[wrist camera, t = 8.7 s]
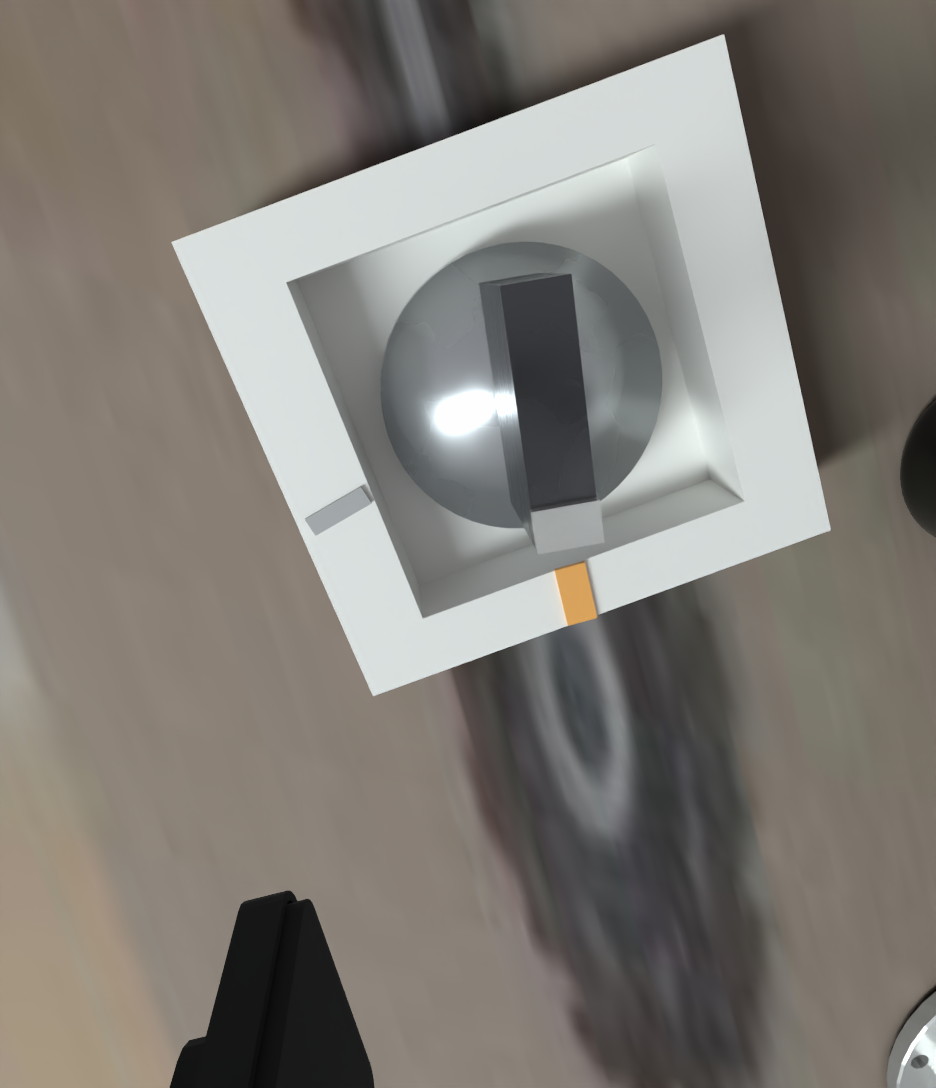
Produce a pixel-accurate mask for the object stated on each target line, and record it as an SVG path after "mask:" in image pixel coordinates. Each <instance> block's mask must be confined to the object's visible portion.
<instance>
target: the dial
mask: <svg viewBox="0 0 936 1088" xmlns="http://www.w3.org/2000/svg"><path fill="white" fill-rule="evenodd" d="M661 395H662V365H661V358H660V352H659V347H658V344H657V340H656V337H655V333H654V331H653V328H652V326H651V324H650V321H649V319H648V317H647V315H646V313H645V311H644V310H643V308H642V306H641V305H640V303H639V301H638V300H637V298H636V297H635V296H634V295H633V293H632V292H631V291H630V290H629V288H628V287H627V286H626V285H625V284H624V283H623V282H622V281H621V280H620V279H619V278H618V277H617V276H616V275H615V274H614V273H612V272H611V271H610V270H608V269H607V268H606V267H604V266H603V265H601V264H600V263H598V262H597V261H595V260H594V259H592V258H590V257H588V256H586V255H584V254H582V253H580V252H577V251H574V250H571V249H568V248H565V247H562V246H558V245H553V244H548V243H543V242H512V243H503V244H498V245H494V246H490V247H486V248H481V249H478V250H475V251H473V252H470V253H468V254H465V255H463V256H461V257H459V258H457V259H455V260H453V261H452V262H450V263H448V264H446V265H445V266H443V267H442V268H441V269H439V270H438V271H437V272H435V273H434V274H433V275H431V276H430V277H429V278H428V279H427V280H426V281H425V282H424V283H423V284H422V285H421V286H420V287H419V288H418V289H417V290H416V291H415V292H414V294H413V295H412V296H411V298H410V299H409V300H408V301H407V303H406V304H405V306H404V307H403V309H402V311H401V312H400V314H399V316H398V318H397V319H396V321H395V323H394V326H393V328H392V331H391V333H390V335H389V338H388V341H387V345H386V349H385V352H384V356H383V363H382V370H381V405H382V413H383V419H384V423H385V427H386V431H387V434H388V437H389V440H390V442H391V445H392V447H393V449H394V452H395V454H396V455H397V457H398V459H399V461H400V462H401V464H402V466H403V468H404V469H405V470H406V472H407V473H408V474H409V476H410V477H411V478H412V480H413V481H414V482H415V483H416V484H417V485H418V486H419V487H420V488H421V489H422V490H423V491H424V492H425V493H426V494H427V495H428V496H429V497H430V498H432V499H433V500H434V501H436V502H437V503H438V504H439V505H441V506H442V507H444V508H446V509H448V510H449V511H451V512H453V513H454V514H456V515H459V516H461V517H463V518H466V519H468V520H470V521H473V522H477V523H480V524H484V525H488V526H494V527H501V528H525V530H526V532H527V534H528V536H529V537H530V539H531V541H532V543H533V545H534V547H535V549H536V552H537V554H544V553H549V552H555V551H560V550H566V549H571V548H577V547H582V546H588V545H593V544H599V543H604V533H603V524H602V514H601V505H600V501H601V500H603V499H604V498H606V497H607V496H608V495H609V494H610V493H611V492H612V491H613V490H614V489H616V488H617V487H618V486H619V485H620V484H621V483H622V481H623V480H624V479H625V478H626V477H627V476H628V475H629V474H630V472H631V471H632V470H633V468H634V467H635V465H636V464H637V462H638V461H639V459H640V458H641V456H642V454H643V452H644V451H645V449H646V447H647V445H648V443H649V441H650V438H651V436H652V433H653V430H654V428H655V425H656V421H657V417H658V413H659V409H660V404H661Z"/></svg>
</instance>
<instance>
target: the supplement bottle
mask: <svg viewBox="0 0 936 1088" xmlns="http://www.w3.org/2000/svg"><path fill="white" fill-rule="evenodd" d="M900 480H901V488H902V494H903V497H904V500H905V503H906V505H907V508H908V509H909V511H910V513H911V515H912V516H913V517H914V519H915V520H916V521H917V523H918V524H919V525H920V526H921V527H922V528H923V529H925V530H926V531H927V532H928V533H930V534H931V535H933V536H934V537H936V400H935V401H934V402H933V403H932V404H931V405H930V406H929V407H928V408H927V409H926V410H925V411H924V413H923V414H922V415H921V417H920V418H919V419H918V421H917V422H916V424H915V426H914V427H913V429H912V431H911V433H910V435H909V437H908V440H907V442H906V445H905V448H904V451H903V456H902V460H901V468H900Z"/></svg>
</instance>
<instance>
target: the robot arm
mask: <svg viewBox="0 0 936 1088" xmlns="http://www.w3.org/2000/svg"><path fill="white" fill-rule="evenodd" d="M887 1085H888V1088H936V991H935V992H934V993H933V994H932V995H931V996H929V997H928V998H927V999H926V1000H925V1001H924V1002H923V1003H922V1004H921V1005H920V1006H919V1007H918V1008H917V1010H916V1011H915V1012H914V1013H913V1014H912V1015H911V1017H910V1018H909V1019H908V1020H907V1022H906V1023H905V1025H904V1027H903V1028H902V1030H901V1032H900V1033H899V1035H898V1037H897V1038H896V1041H895V1044H894V1046H893V1049H892V1052H891V1054H890V1057H889V1062H888V1069H887ZM170 1088H374V1080H373V1074H372V1069H371V1066H370V1062H369V1059H368V1056H367V1054H366V1051H365V1048H364V1045H363V1042H362V1040H361V1037H360V1034H359V1031H358V1028H357V1026H356V1023H355V1020H354V1017H353V1014H352V1012H351V1009H350V1006H349V1003H348V1000H347V998H346V995H345V992H344V989H343V986H342V984H341V981H340V978H339V975H338V972H337V970H336V967H335V964H334V961H333V958H332V956H331V953H330V950H329V947H328V944H327V942H326V939H325V936H324V933H323V930H322V928H321V925H320V922H319V919H318V916H317V914H316V911H315V908H314V906H313V904H312V902H311V901H310V900H309V899H305V900H301V901H297V900H296V897H295V895H294V894H293V893H292V892H291V891H284V892H280V893H276V894H272V895H268V896H264V897H260V898H256V899H252V900H248V901H244V902H243V903H242V904H241V906H240V908H239V911H238V915H237V919H236V923H235V926H234V930H233V934H232V938H231V942H230V946H229V950H228V954H227V957H226V961H225V965H224V969H223V973H222V977H221V981H220V985H219V988H218V992H217V996H216V1000H215V1004H214V1008H213V1012H212V1015H211V1019H210V1023H209V1027H208V1031H207V1035H206V1036H205V1037H201V1038H197V1039H193V1040H189V1041H188V1043H187V1044H186V1045H185V1046H184V1047H183V1049H182V1051H181V1054H180V1056H179V1059H178V1061H177V1064H176V1068H175V1071H174V1075H173V1078H172V1082H171V1085H170Z"/></svg>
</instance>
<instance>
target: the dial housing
mask: <svg viewBox="0 0 936 1088" xmlns="http://www.w3.org/2000/svg"><path fill="white" fill-rule="evenodd" d="M512 242H543V243H548V244H553V245H558V246H562V247H565V248H568V249H571V250H574V251H577V252H580V253H582V254H584V255H586V256H588V257H590V258H592V259H594V260H595V261H597V262H598V263H600V264H601V265H603V266H604V267H606V268H607V269H608V270H610V271H611V272H612V273H614V274H615V275H616V276H617V277H618V278H619V279H620V280H621V281H622V282H623V283H624V284H625V285H626V286H627V287H628V288H629V290H630V291H631V292H632V293H633V295H634V296H635V297H636V298H637V300H638V301H639V303H640V305H641V306H642V308H643V310H644V311H645V313H646V315H647V317H648V319H649V321H650V324H651V326H652V328H653V331H654V333H655V337H656V340H657V344H658V347H659V352H660V358H661V365H662V395H661V404H660V409H659V413H658V417H657V421H656V425H655V428H654V430H653V433H652V436H651V438H650V441H649V443H648V445H647V447H646V449H645V451H644V452H643V454H642V456H641V458H640V459H639V461H638V462H637V464H636V465H635V467H634V468H633V470H632V471H631V472H630V474H629V475H628V476H627V477H626V478H625V479H624V480H623V481H622V483H621V484H620V485H619V486H618V487H617V488H616V489H614V490H613V491H612V492H611V493H610V494H609V495H608V496H607V497H606V498H604V499H603V500H601V501H600V505H601V514H602V524H603V533H604V543H599V544H593V545H588V546H582V547H577V548H571V549H566V550H560V551H555V552H549V553H544V554H537V552H536V549H535V547H534V545H533V543H532V541H531V539H530V537H529V536H528V534H527V532H526V530H525V528H501V527H494V526H488V525H484V524H480V523H477V522H473V521H470V520H468V519H466V518H463V517H461V516H459V515H456V514H454V513H453V512H451V511H449V510H448V509H446V508H444V507H442V506H441V505H439V504H438V503H437V502H436V501H434V500H433V499H432V498H430V497H429V496H428V495H427V494H426V493H425V492H424V491H423V490H422V489H421V488H420V487H419V486H418V485H417V484H416V483H415V482H414V481H413V480H412V478H411V477H410V476H409V474H408V473H407V472H406V470H405V469H404V468H403V466H402V464H401V462H400V461H399V459H398V457H397V455H396V454H395V452H394V449H393V447H392V445H391V442H390V440H389V437H388V434H387V431H386V427H385V423H384V419H383V413H382V405H381V370H382V363H383V356H384V352H385V349H386V345H387V341H388V338H389V335H390V333H391V331H392V328H393V326H394V323H395V321H396V319H397V318H398V316H399V314H400V312H401V311H402V309H403V307H404V306H405V304H406V303H407V301H408V300H409V299H410V298H411V296H412V295H413V294H414V292H415V291H416V290H417V289H418V288H419V287H420V286H421V285H422V284H423V283H424V282H425V281H426V280H427V279H428V278H429V277H430V276H431V275H433V274H434V273H435V272H437V271H438V270H439V269H441V268H442V267H443V266H445V265H446V264H448V263H450V262H452V261H453V260H455V259H457V258H459V257H461V256H463V255H465V254H468V253H470V252H473V251H475V250H478V249H481V248H486V247H490V246H494V245H498V244H503V243H512ZM171 243H172V245H173V247H174V249H175V251H176V254H177V256H178V258H179V260H180V263H181V265H182V267H183V269H184V272H185V274H186V276H187V278H188V281H189V283H190V285H191V287H192V290H193V292H194V294H195V296H196V299H197V301H198V303H199V305H200V308H201V310H202V312H203V314H204V317H205V319H206V321H207V323H208V326H209V328H210V330H211V332H212V335H213V337H214V339H215V341H216V344H217V346H218V348H219V350H220V353H221V355H222V357H223V359H224V362H225V364H226V366H227V368H228V371H229V373H230V375H231V377H232V380H233V382H234V384H235V386H236V389H237V391H238V393H239V395H240V398H241V400H242V402H243V404H244V407H245V409H246V411H247V413H248V416H249V418H250V420H251V422H252V425H253V427H254V429H255V431H256V434H257V436H258V438H259V440H260V443H261V445H262V447H263V449H264V452H265V454H266V456H267V458H268V461H269V463H270V465H271V467H272V470H273V472H274V474H275V476H276V479H277V481H278V483H279V485H280V488H281V490H282V492H283V494H284V497H285V499H286V501H287V503H288V506H289V508H290V510H291V512H292V515H293V517H294V519H295V521H296V524H297V526H298V528H299V530H300V533H301V535H302V537H303V539H304V542H305V544H306V546H307V548H308V551H309V553H310V555H311V557H312V560H313V562H314V564H315V566H316V569H317V571H318V573H319V575H320V578H321V580H322V582H323V584H324V587H325V589H326V591H327V593H328V596H329V598H330V600H331V602H332V605H333V607H334V609H335V611H336V614H337V616H338V618H339V620H340V623H341V625H342V627H343V629H344V632H345V634H346V636H347V638H348V641H349V643H350V645H351V647H352V650H353V652H354V654H355V656H356V659H357V661H358V663H359V665H360V668H361V670H362V672H363V674H364V677H365V679H366V681H367V683H368V686H369V688H370V690H371V692H372V695H373V696H375V695H378V694H381V693H383V692H386V691H389V690H392V689H394V688H397V687H400V686H403V685H405V684H408V683H411V682H414V681H416V680H419V679H422V678H425V677H427V676H430V675H433V674H436V673H438V672H441V671H444V670H447V669H449V668H452V667H455V666H458V665H460V664H463V663H466V662H469V661H471V660H474V659H477V658H480V657H482V656H485V655H488V654H491V653H493V652H496V651H499V650H502V649H505V648H507V647H510V646H513V645H516V644H518V643H521V642H524V641H527V640H529V639H532V638H535V637H538V636H540V635H543V634H546V633H549V632H551V631H554V630H557V629H560V628H562V627H565V626H569V625H573V624H576V623H580V622H584V621H587V620H591V619H595V618H597V615H598V614H601V613H604V612H606V611H609V610H612V609H615V608H618V607H620V606H623V605H626V604H629V603H631V602H634V601H637V600H640V599H642V598H645V597H648V596H651V595H653V594H656V593H659V592H662V591H664V590H667V589H670V588H673V587H675V586H678V585H681V584H684V583H686V582H689V581H692V580H695V579H697V578H700V577H703V576H706V575H708V574H711V573H714V572H717V571H719V570H722V569H725V568H728V567H731V566H733V565H736V564H739V563H742V562H744V561H747V560H750V559H753V558H755V557H758V556H761V555H764V554H766V553H769V552H772V551H775V550H777V549H780V548H783V547H786V546H788V545H791V544H794V543H797V542H799V541H802V540H805V539H808V538H810V537H813V536H816V535H819V534H821V533H824V532H827V531H830V530H831V529H830V524H829V520H828V515H827V510H826V506H825V501H824V496H823V492H822V487H821V482H820V478H819V473H818V469H817V464H816V459H815V455H814V450H813V445H812V441H811V436H810V431H809V427H808V422H807V417H806V413H805V408H804V403H803V399H802V394H801V389H800V385H799V380H798V375H797V371H796V366H795V362H794V357H793V352H792V348H791V343H790V338H789V334H788V329H787V324H786V320H785V315H784V310H783V306H782V301H781V296H780V292H779V287H778V282H777V278H776V273H775V268H774V264H773V259H772V255H771V250H770V245H769V241H768V236H767V231H766V227H765V222H764V217H763V213H762V208H761V203H760V199H759V194H758V189H757V185H756V180H755V175H754V171H753V166H752V161H751V157H750V152H749V148H748V143H747V138H746V134H745V129H744V124H743V120H742V115H741V110H740V106H739V101H738V96H737V92H736V87H735V82H734V78H733V73H732V68H731V64H730V59H729V54H728V50H727V45H726V41H725V36H724V34H723V35H720V36H717V37H715V38H712V39H709V40H707V41H704V42H701V43H699V44H696V45H693V46H691V47H688V48H686V49H683V50H680V51H678V52H675V53H672V54H670V55H667V56H664V57H662V58H659V59H656V60H654V61H651V62H648V63H646V64H643V65H640V66H638V67H635V68H632V69H630V70H627V71H624V72H622V73H619V74H617V75H614V76H611V77H609V78H606V79H603V80H601V81H598V82H595V83H593V84H590V85H587V86H585V87H582V88H579V89H577V90H574V91H571V92H569V93H566V94H563V95H561V96H558V97H555V98H553V99H550V100H548V101H545V102H542V103H540V104H537V105H534V106H532V107H529V108H526V109H524V110H521V111H518V112H516V113H513V114H510V115H508V116H505V117H502V118H500V119H497V120H494V121H492V122H489V123H486V124H484V125H481V126H479V127H476V128H473V129H471V130H468V131H465V132H463V133H460V134H457V135H455V136H452V137H449V138H447V139H444V140H441V141H439V142H436V143H433V144H431V145H428V146H425V147H423V148H420V149H417V150H415V151H412V152H409V153H407V154H404V155H402V156H399V157H396V158H394V159H391V160H388V161H386V162H383V163H380V164H378V165H375V166H372V167H370V168H367V169H364V170H362V171H359V172H356V173H354V174H351V175H348V176H346V177H343V178H340V179H338V180H335V181H333V182H330V183H327V184H325V185H322V186H319V187H317V188H314V189H311V190H309V191H306V192H303V193H301V194H298V195H295V196H293V197H290V198H287V199H285V200H282V201H279V202H277V203H274V204H271V205H269V206H266V207H264V208H261V209H258V210H256V211H253V212H250V213H248V214H245V215H242V216H240V217H237V218H234V219H232V220H229V221H226V222H224V223H221V224H218V225H216V226H213V227H210V228H208V229H205V230H202V231H200V232H197V233H195V234H192V235H189V236H187V237H184V238H181V239H179V240H176V241H173V242H171Z"/></svg>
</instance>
